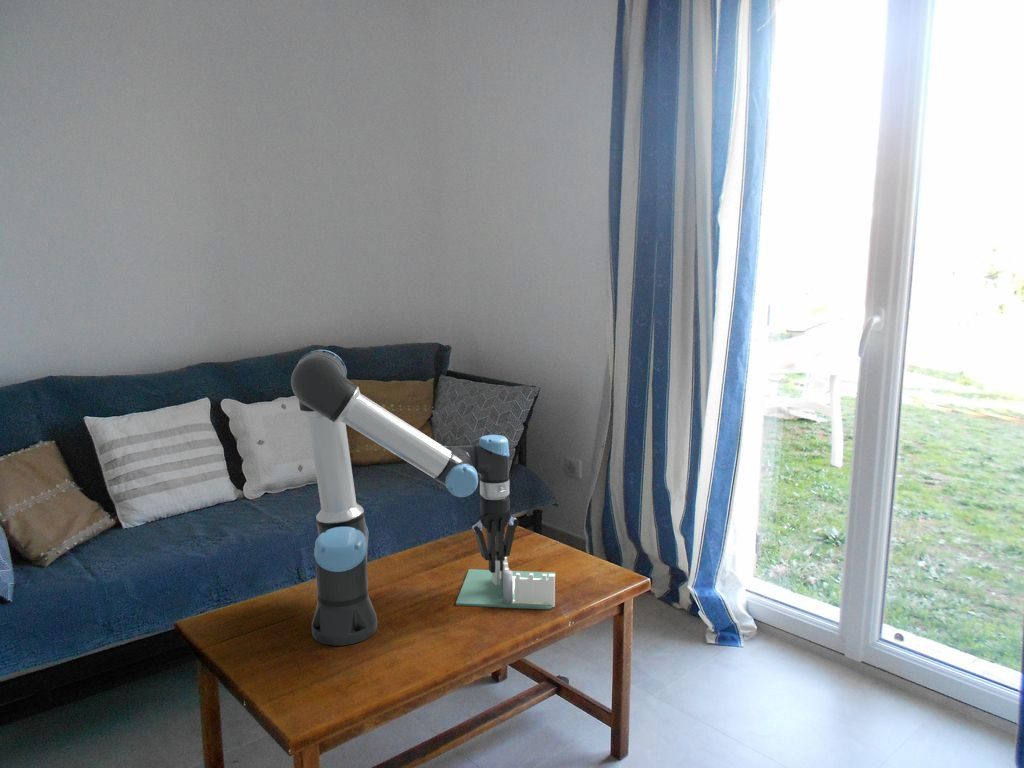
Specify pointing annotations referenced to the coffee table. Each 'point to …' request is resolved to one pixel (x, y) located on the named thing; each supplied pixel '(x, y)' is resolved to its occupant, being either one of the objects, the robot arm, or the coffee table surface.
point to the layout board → (494, 591)
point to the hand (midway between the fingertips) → (496, 583)
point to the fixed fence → (529, 588)
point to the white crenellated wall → (504, 566)
